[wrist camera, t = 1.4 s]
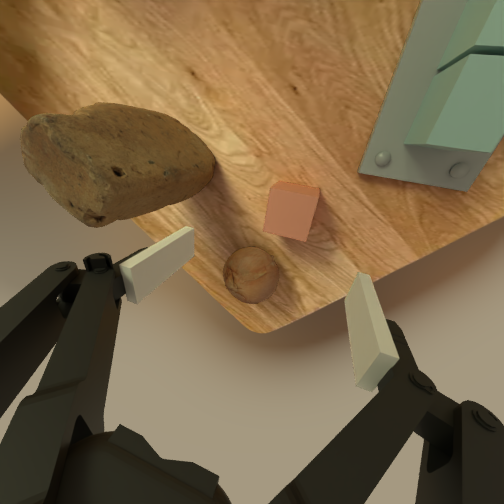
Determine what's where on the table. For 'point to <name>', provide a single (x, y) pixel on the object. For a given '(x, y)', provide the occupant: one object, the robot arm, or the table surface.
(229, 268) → the onion
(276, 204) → the brick block
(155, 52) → the table surface
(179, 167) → the rough sandstone chunk
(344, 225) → the table surface
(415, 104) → the build plate
